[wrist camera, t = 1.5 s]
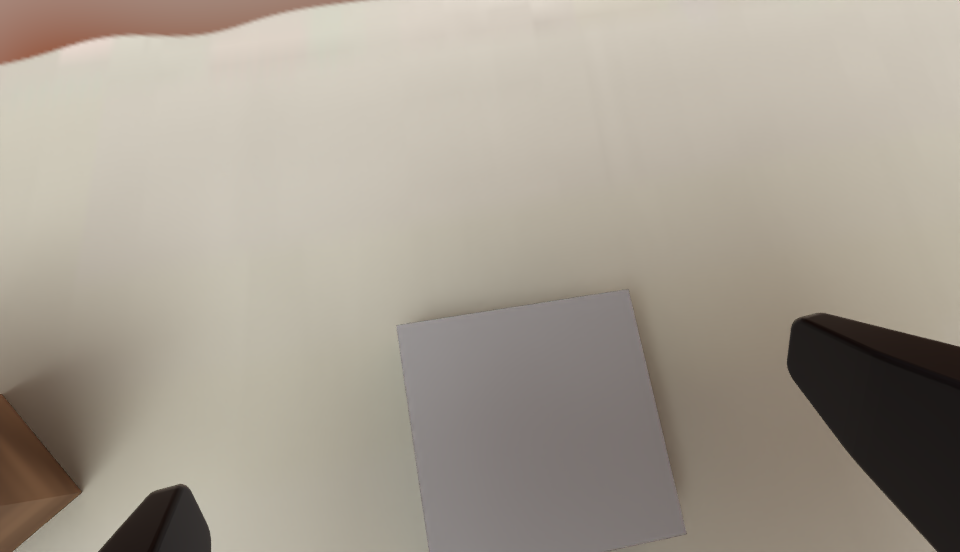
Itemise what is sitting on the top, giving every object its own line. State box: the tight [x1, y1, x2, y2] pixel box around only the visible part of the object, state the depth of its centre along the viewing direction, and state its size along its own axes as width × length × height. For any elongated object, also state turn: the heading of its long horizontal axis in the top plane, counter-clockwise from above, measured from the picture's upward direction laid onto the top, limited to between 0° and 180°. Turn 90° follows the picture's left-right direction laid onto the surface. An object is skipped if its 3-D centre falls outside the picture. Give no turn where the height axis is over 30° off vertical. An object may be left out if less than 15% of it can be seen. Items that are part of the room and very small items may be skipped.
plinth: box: [396, 289, 687, 552], centre depth 21 cm, size 8×8×3 cm
